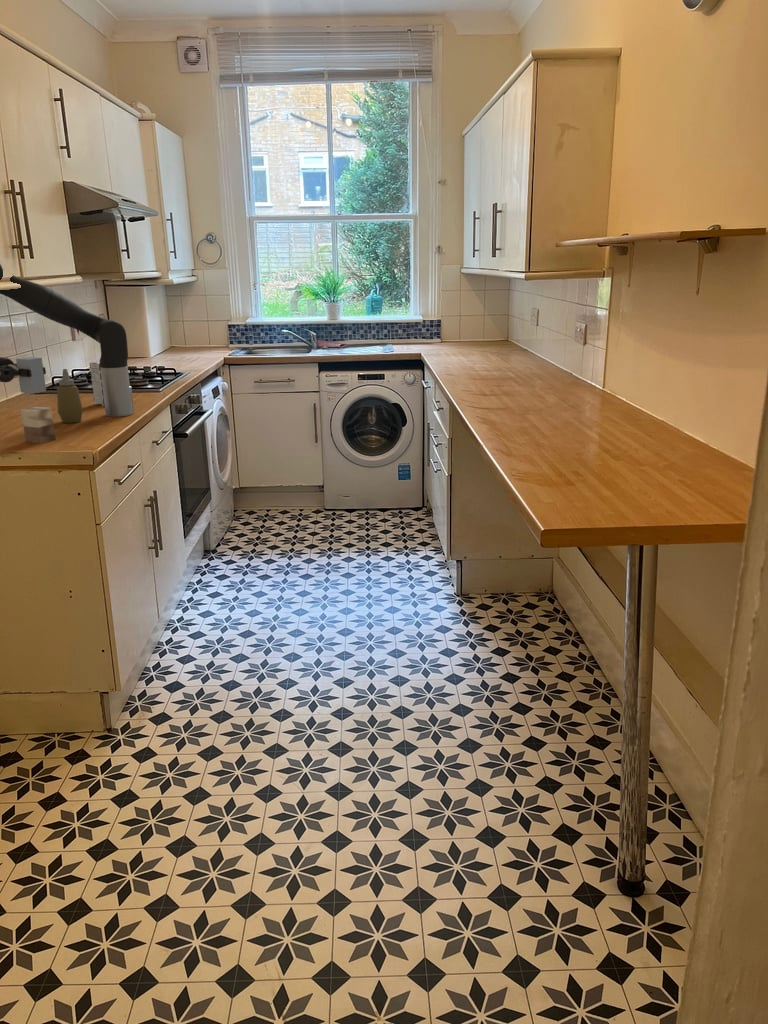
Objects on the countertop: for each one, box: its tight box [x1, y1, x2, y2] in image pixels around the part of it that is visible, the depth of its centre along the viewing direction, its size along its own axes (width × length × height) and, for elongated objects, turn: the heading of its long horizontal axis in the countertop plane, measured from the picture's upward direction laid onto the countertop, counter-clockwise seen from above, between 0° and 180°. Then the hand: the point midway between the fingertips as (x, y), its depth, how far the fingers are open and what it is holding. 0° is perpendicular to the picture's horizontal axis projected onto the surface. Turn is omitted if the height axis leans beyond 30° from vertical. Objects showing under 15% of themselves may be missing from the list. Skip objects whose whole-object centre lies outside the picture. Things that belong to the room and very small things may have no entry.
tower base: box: [23, 423, 57, 445], centre depth 237 cm, size 6×6×5 cm
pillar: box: [15, 356, 47, 394], centre depth 232 cm, size 5×5×10 cm
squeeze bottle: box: [56, 368, 84, 424], centre depth 264 cm, size 8×8×18 cm
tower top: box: [20, 406, 54, 428], centre depth 236 cm, size 6×6×5 cm
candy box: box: [89, 360, 131, 407], centre depth 300 cm, size 14×6×16 cm, turn 149°
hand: (37, 372), depth 231 cm, fingers closed on pillar, 5 cm apart
